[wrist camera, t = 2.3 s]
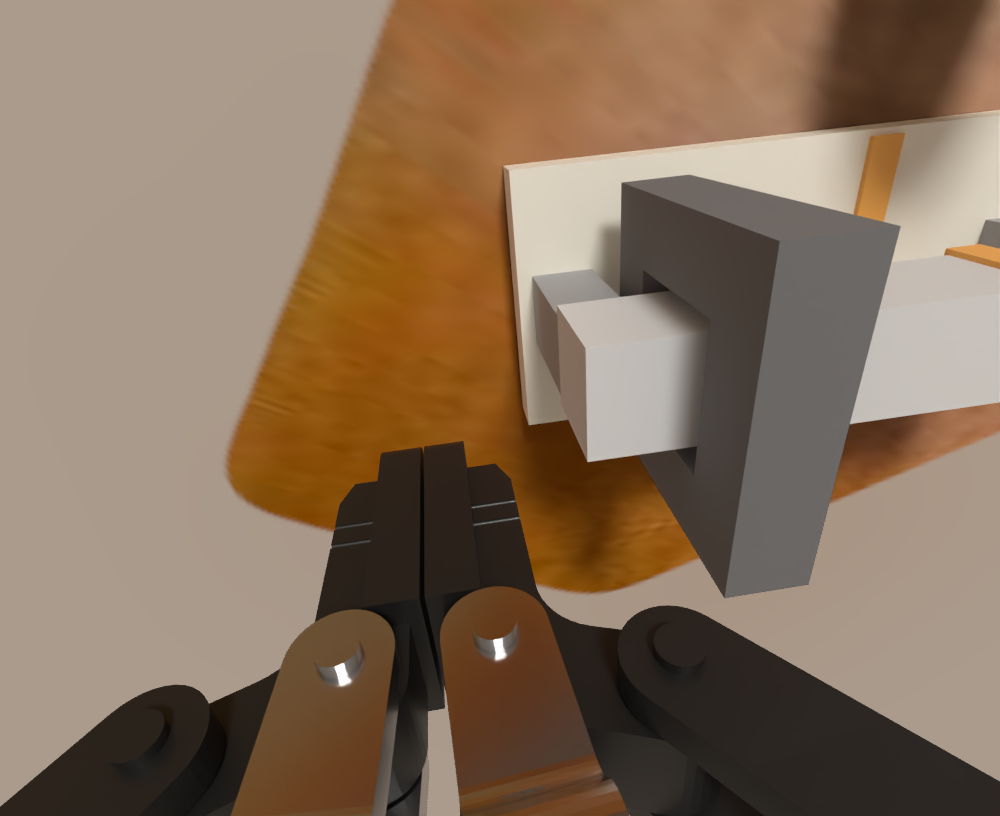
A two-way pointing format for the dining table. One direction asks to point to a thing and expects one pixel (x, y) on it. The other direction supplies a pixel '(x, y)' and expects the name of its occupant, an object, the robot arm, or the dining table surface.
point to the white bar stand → (684, 330)
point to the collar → (759, 362)
